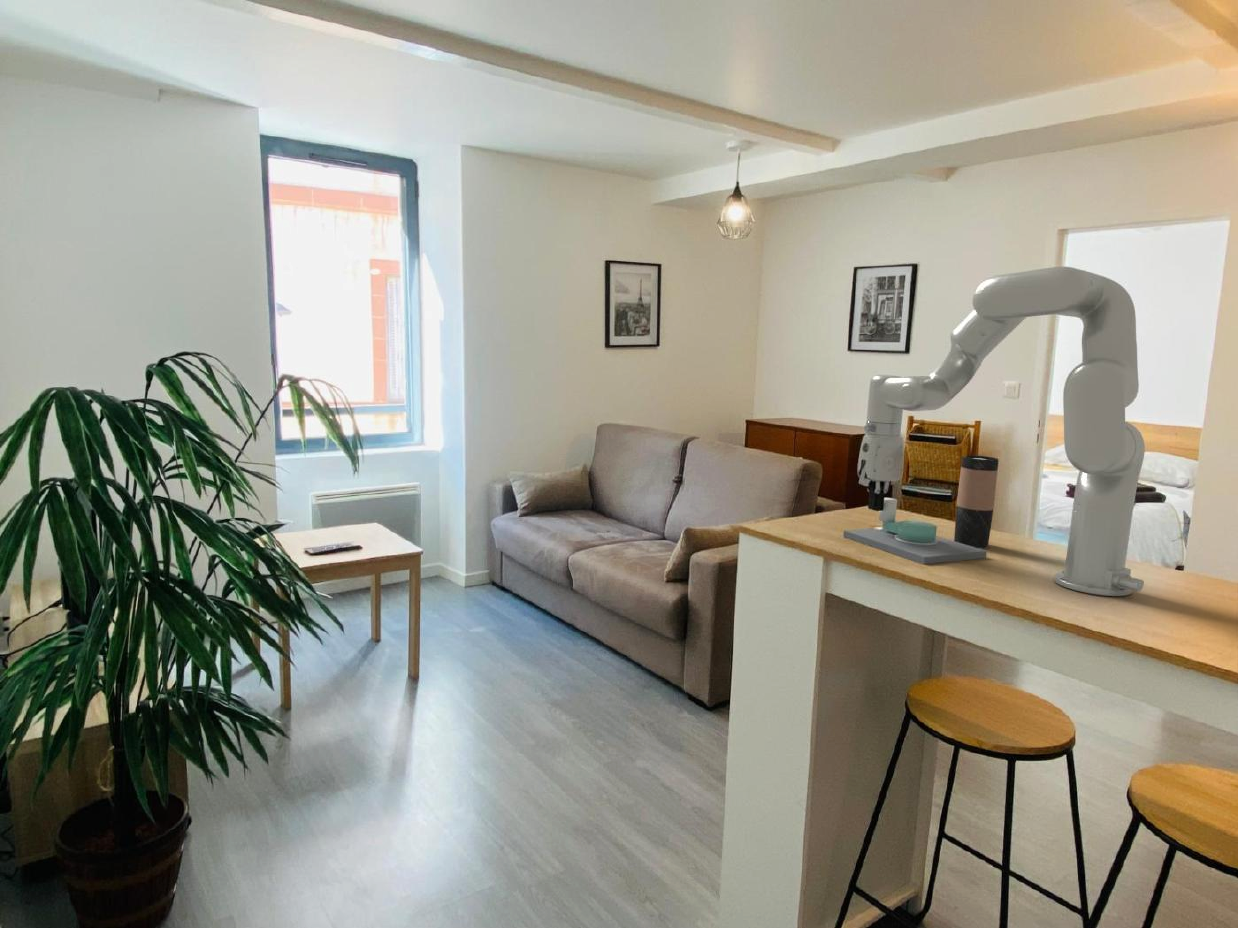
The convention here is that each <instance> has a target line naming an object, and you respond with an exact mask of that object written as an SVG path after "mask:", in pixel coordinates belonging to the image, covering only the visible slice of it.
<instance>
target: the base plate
mask: <svg viewBox="0 0 1238 928" xmlns="http://www.w3.org/2000/svg"><path fill="white" fill-rule="evenodd" d="M882 527H883V526H880V527H877V526H876V527H873V528H860V529H848V530H847V529H846V530H843V536H844V537H843V538H845V537H846V538H845V539H848V538H849V540H851V541H854V542H857V543H861V544H863V545H867V546H869V547H873V548H875V549H878V550H880V551H884V552H886V553H890V554H892V555H894V556H895V555H896V556H898V557H901V558H904V559H906V560H910V561H913V562H916V563H919V564H922V565H929V564H939V563H949V562H959V561H960V562H961V561H967V560H977V559H986V558H987V552H988V551H987V550H984V549H983V548H975V547H972V546H969V545H965V544H962V543H958V542H955V541H954V540H952V539H948V538H944V537H941V536H938V535H936V539H935V541H934V542H915V541H909V540H904V539H901V538H899V537H897V533H893V532H890V531H887V530H884V529H882Z"/></svg>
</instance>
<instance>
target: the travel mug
mask: <svg viewBox="0 0 1238 928" xmlns="http://www.w3.org/2000/svg"><path fill="white" fill-rule="evenodd" d="M998 469H999V459H998V458H996V457H994V456H993V457H992V456H986V455H985V456H984V455H975V454H974V455H972V454H969V455H966V456H963V455H962V456H961V466H960V474H959V483H958V490H957V491H958V492H957V497H956V499H957V500H956V508H955V509H956V510H955V519H954V520H955V522H954V534H953V535H954V537H953V541H955V542H958V543H962V544H965V545H969V546H972V547H975V548H979V549H986V548H988V546H989V541H990V536H991V529H992V522H993V514H994V508H995V499H996V498H995V497H996V489H997V488H996V487H997V478H998Z"/></svg>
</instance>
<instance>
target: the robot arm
mask: <svg viewBox="0 0 1238 928" xmlns="http://www.w3.org/2000/svg"><path fill="white" fill-rule="evenodd" d="M972 307H973V310H971V311H970V312H969V314H968V315H966V316H965V318H963V320H961V321H960V323H959V324H958V325H957V326H955V328H953V330H951V332H950V337H949V338H950V343H951V345H950V350H949V352H948V354H947V356H946V357H945V358H944V360H943V361H942V362H941V363H940V364H939V366H938V367H937V368H935V369H934V371H932V372H931V373H930V375H928V376H927V375H921V376H920V375H918V376H917V375H916V376H915V375H914V376H912V375H911V376H900V375H892V374H891V375H890V374H889V375H887V374H877V375H876V374H875V375H874V376H872V377H871V379H870V381H869V390H868V391H869V392H868V400H867V402H868V403H867V412H866V413H867V414H866V423H865V425H864V427H863V429H864V431H865V432H864V435H863V437H862V440H861V443H860V449H859V455H858V463H857V477H858V478H859V480H858V484H859V485H861V486H864V487H866V489H867V492H868V503H867V505H868V506H867V508H868V510H872V511H875V512H880V511H883V509H884V499H885V498H886V495H885V494H887V493H888V491H889V488H890V487H891V486H893V485H895V484H897V483H898V481H899V480H901V479H902V478H903V474H904V462H905V459H904V458H905V448H904V440H903V437H902V436H901V433H902V432H901V429H902V421H903V412H904V411H909V412H924V411H936V410H938V409H941V408H942V407H943V408H944V407H945V406H946V405H947V404H948V403H949V402H951V401H952V400H953V399H954V398H955V397H956V396H957V395H958V394H959V393H960V392H961V391H962V390H963V389H964V388H965V387H966V386H967V385H969V383H970V382H971V380H972V379H973V378H974V376H975V375H976V373H977V371H979V368H980V367H981V366H982V363H983V361H984V359H986V357H987V356H989V354H990V353H991V352H992V351H994V350H995V349H996V347H997V346H998V345H1000V343H1001V342H1003V340H1005V339H1006V337H1008V335H1010V334H1011V333H1012V332H1013V331H1014V330H1015V329H1016V328H1017V327H1018V326H1019V325H1020V324H1021V323H1023V321H1024V320H1026V318H1029V317H1030V318H1031V317H1037V316H1039V317H1040V316H1048V315H1049V316H1051V315H1059V316H1065V317H1072V318H1073V317H1074V318H1077V319H1080V320H1081V321H1082V323H1083V324H1082V325H1083V328H1082V333H1081V334H1082V335H1081V351H1082V354H1081V355H1082V356H1081V358H1082V359H1081V360H1082V362H1080V363H1079V364H1078V365H1076V366H1075V367H1074V368H1073V369H1072V370H1071V371H1070V372H1069V374H1068V376H1067V377H1066V380H1065V382H1064V387H1063V396H1062V400H1063V403H1062V405H1063V409H1062V410H1063V439H1064V440H1063V441H1064V443H1063V445H1064V450H1065V454H1066V457H1067V459H1068V461H1069V463H1070V464H1071V466H1073V467H1074V468H1075V469H1076V470H1078V471H1079V472H1078V476H1077V479H1076V484H1075V489H1074V495H1073V503H1072V509H1071V510H1072V512H1071V518H1070V524H1069V525H1070V526H1069V534H1068V540H1067V550H1066V557H1065V566H1064V571H1059V572H1056V573H1055V574H1054V578H1053V580H1054V582H1055V583H1056V584H1058V585H1059V586H1062V587H1064V588H1067V589H1069V590H1073V591H1076V592H1081V593H1085V594H1090V595H1096V596H1097V595H1098V596H1106V597H1125V596H1129V595H1132V593H1133V591H1134V592H1138V593H1140V592H1142V590H1143V588H1144V584H1145V581H1144V579H1140V578H1136V577H1132V576H1131V573H1132V570H1131V568H1128V567H1126V564H1127V563H1126V561H1127V555H1128V547H1129V540H1130V534H1131V525H1132V520H1133V512H1134V507H1135V501H1136V494H1137V488H1138V483H1139V479H1140V474H1141V471H1142V467H1143V463H1144V462H1143V461H1144V458H1145V451H1146V450H1145V448H1146V447H1145V441H1144V437H1143V434H1142V433H1141V432H1140V431H1139V429H1138V428H1137V427H1136V426H1134V425H1133V424H1132V423H1130V422H1128V421H1126V408H1127V407H1129V406H1130V405H1131V404H1133V402H1134V401H1135V400H1136V398H1137V396H1138V393H1139V386H1140V384H1139V383H1140V382H1139V371H1138V370H1139V368H1138V366H1139V365H1138V344H1137V318H1136V309H1135V305H1134V301H1133V299H1132V297H1131V295H1130V293H1129V292H1128V291H1127V290H1126V289H1125V288H1124V287H1123V285H1121V284H1120V283H1118V282H1116V281H1115V280H1113V279H1112V278H1109V277H1107V276H1104V275H1100V274H1097V273H1094V272H1090V271H1086V270H1084V269H1079V268H1076V267H1072V266H1053V267H1045V268H1040V269H1033V270H1027V271H1026V270H1025V271H1021V272H1020V271H1019V272H1013V273H1012V272H1011V273H1005V274H997V275H994V276H991V277H988V278H987V279H985V280H983V281H982V282H981V283H980V284H979V285H978V286H977V288H975V290H974V292H973V296H972Z"/></svg>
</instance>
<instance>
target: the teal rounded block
mask: <svg viewBox="0 0 1238 928" xmlns="http://www.w3.org/2000/svg"><path fill="white" fill-rule="evenodd" d="M897 506H898V499H896V498H892V497H885V499H884V509H883V511H878V512H879V513H878V514H879V515H878V520H879V521H880V522H882V526H881V527H882V529H884V530H887V531H890V532H893V533H897V537H899V538H901V539H904V540H909V541H915V542H934V541H935V539H936V536H937V528H938V526H937V525H936V524H933V523H930V522H926V521H918V520H900V521H896V515H897Z"/></svg>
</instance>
